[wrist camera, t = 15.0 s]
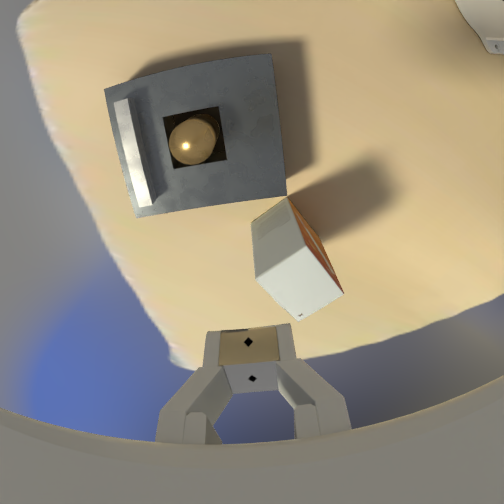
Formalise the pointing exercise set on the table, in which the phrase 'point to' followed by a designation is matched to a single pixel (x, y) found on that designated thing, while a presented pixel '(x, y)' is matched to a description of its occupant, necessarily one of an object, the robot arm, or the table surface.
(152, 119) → the jig
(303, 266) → the small box
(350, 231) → the table surface
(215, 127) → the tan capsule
